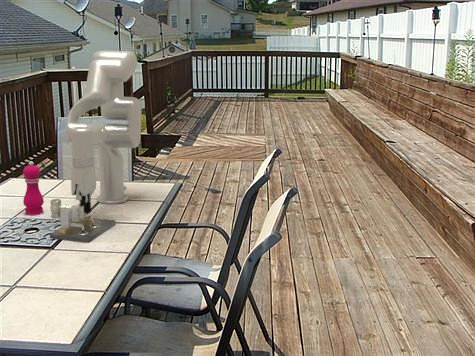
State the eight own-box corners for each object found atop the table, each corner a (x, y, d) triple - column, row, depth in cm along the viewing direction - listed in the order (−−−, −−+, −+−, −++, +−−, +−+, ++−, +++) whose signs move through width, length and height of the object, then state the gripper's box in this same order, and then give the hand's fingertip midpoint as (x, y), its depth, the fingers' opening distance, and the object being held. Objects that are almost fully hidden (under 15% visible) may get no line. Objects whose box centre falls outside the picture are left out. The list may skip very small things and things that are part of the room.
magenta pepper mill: (48, 211, 221) (45, 160, 216) (36, 216, 214) (32, 163, 210) (32, 209, 223) (29, 158, 218) (20, 214, 217) (16, 162, 212)
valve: (48, 219, 211) (82, 219, 212) (47, 202, 210) (81, 202, 211) (52, 214, 218) (85, 214, 219) (52, 197, 216) (84, 197, 217)
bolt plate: (80, 220, 211) (79, 196, 209) (115, 224, 208) (114, 200, 206) (50, 238, 192) (48, 212, 190) (88, 242, 189) (87, 216, 187)
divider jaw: (75, 222, 203) (74, 204, 201) (96, 224, 201) (95, 207, 199) (70, 224, 200) (69, 207, 199) (92, 227, 198) (91, 209, 197)
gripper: (84, 157, 210) (86, 205, 214) (62, 166, 196) (65, 217, 200) (103, 158, 208) (105, 207, 212) (82, 167, 194) (84, 219, 198)
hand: (85, 212), depth 206 cm, fingers closed
